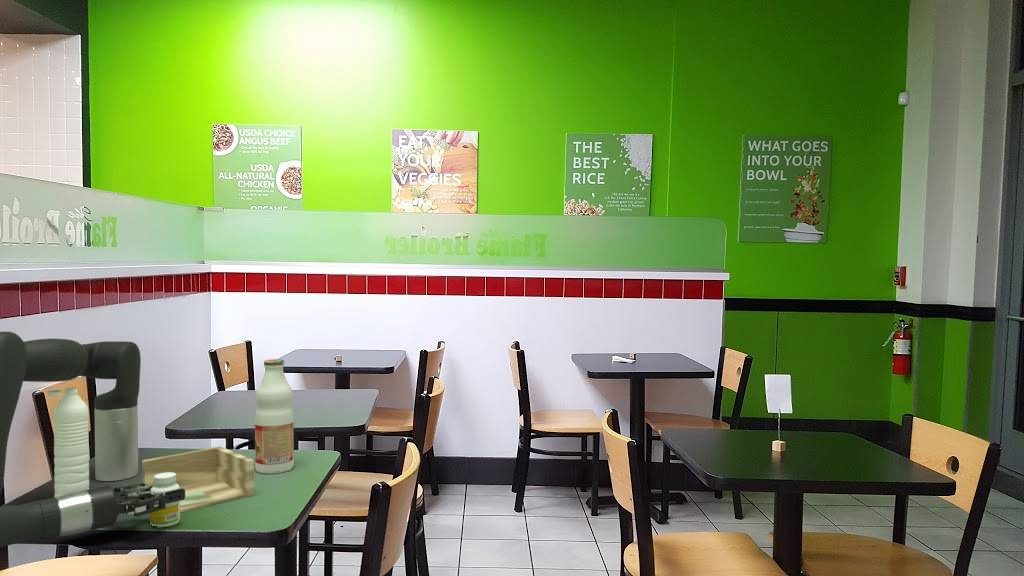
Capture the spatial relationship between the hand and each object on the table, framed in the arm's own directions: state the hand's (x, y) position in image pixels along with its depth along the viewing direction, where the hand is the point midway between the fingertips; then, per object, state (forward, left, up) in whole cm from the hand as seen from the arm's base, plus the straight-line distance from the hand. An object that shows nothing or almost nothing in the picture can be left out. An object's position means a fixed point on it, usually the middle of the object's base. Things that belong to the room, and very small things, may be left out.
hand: (178, 490), depth 142 cm
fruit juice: (-20, +31, -6) cm, 38 cm away
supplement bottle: (0, -3, -6) cm, 7 cm away
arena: (-13, +9, -6) cm, 17 cm away
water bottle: (-28, -13, -6) cm, 31 cm away
